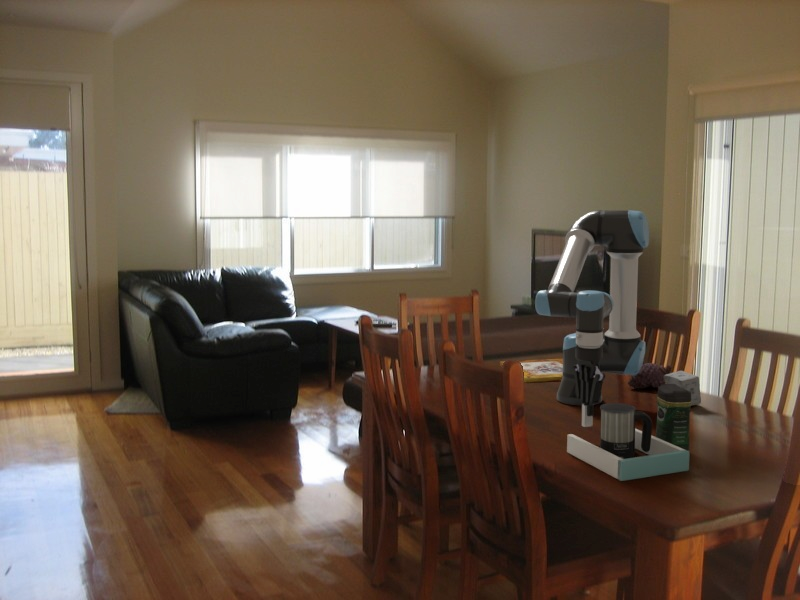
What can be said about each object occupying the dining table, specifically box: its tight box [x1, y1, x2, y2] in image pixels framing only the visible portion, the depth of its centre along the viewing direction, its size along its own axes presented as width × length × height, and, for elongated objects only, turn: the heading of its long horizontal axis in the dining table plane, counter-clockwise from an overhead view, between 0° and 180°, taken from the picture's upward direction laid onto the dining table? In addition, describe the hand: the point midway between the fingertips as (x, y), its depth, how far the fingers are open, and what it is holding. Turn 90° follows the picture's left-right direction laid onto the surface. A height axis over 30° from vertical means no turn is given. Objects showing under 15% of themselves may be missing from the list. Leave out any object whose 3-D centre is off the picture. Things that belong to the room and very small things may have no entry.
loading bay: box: [566, 427, 690, 482], centre depth 226 cm, size 24×21×5 cm
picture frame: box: [499, 358, 563, 383], centre depth 332 cm, size 27×2×30 cm
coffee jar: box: [655, 383, 691, 452], centre depth 233 cm, size 10×8×19 cm
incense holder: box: [664, 370, 702, 406], centre depth 283 cm, size 10×8×10 cm
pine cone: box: [627, 362, 673, 390], centre depth 305 cm, size 18×10×10 cm
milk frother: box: [599, 402, 653, 459], centre depth 229 cm, size 14×16×15 cm
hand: (587, 425), depth 243 cm, fingers closed
